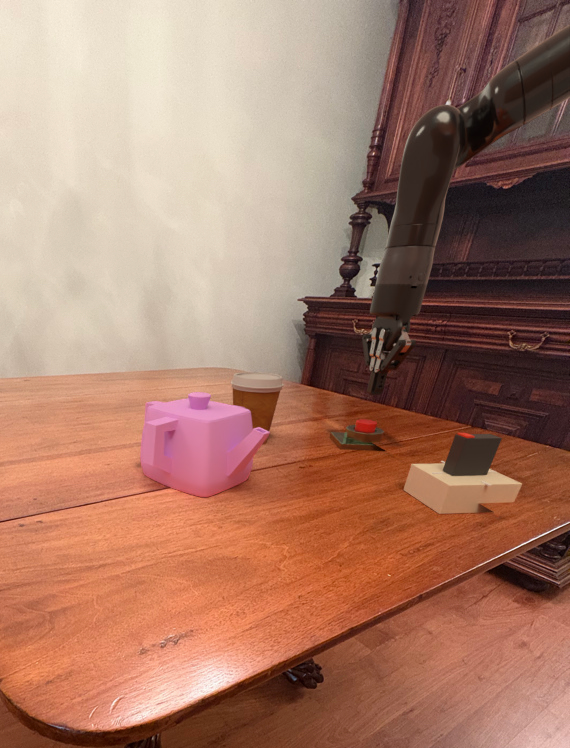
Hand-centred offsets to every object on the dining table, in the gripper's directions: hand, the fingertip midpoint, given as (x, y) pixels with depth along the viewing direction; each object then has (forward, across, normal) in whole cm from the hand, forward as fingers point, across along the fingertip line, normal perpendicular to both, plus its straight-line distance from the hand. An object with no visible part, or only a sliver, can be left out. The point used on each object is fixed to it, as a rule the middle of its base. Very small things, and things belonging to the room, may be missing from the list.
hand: (374, 393), depth 77 cm
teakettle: (+9, +15, -34) cm, 39 cm away
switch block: (+9, 0, 0) cm, 9 cm away
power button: (+7, 0, 0) cm, 7 cm away
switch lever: (+5, +26, 0) cm, 27 cm away
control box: (+9, +26, 0) cm, 28 cm away
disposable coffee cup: (+9, -3, -21) cm, 23 cm away
